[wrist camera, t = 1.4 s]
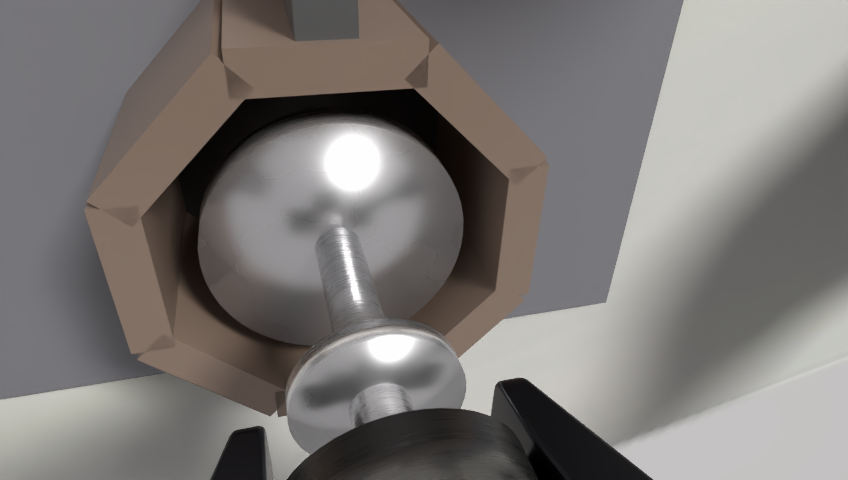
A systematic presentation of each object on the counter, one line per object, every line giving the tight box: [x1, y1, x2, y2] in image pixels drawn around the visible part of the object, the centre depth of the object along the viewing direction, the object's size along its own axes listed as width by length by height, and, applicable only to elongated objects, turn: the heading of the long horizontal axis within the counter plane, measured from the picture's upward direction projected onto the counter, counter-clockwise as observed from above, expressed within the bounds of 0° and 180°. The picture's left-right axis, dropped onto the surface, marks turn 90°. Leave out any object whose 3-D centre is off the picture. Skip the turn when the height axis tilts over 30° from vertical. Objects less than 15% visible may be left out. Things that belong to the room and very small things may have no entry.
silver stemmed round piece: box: [198, 107, 538, 480], centre depth 9 cm, size 5×5×8 cm
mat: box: [0, 0, 683, 399], centre depth 16 cm, size 20×14×1 cm
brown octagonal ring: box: [84, 0, 549, 417], centre depth 13 cm, size 8×11×5 cm
